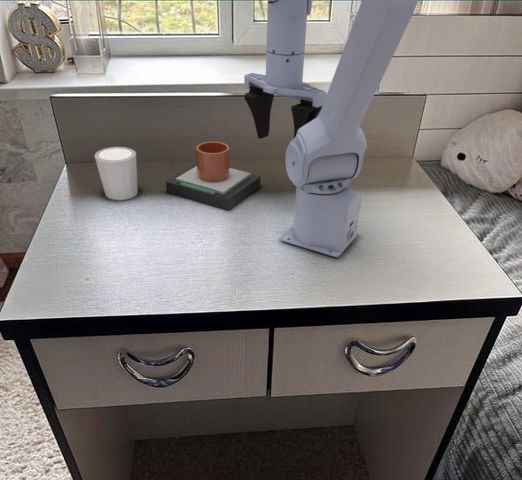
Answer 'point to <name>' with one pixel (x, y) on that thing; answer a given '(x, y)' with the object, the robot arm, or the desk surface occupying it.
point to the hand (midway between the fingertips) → (280, 142)
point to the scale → (214, 187)
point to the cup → (213, 161)
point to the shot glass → (118, 172)
